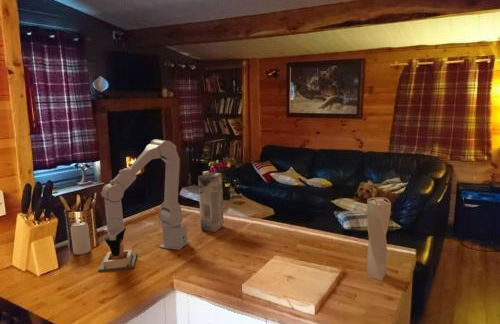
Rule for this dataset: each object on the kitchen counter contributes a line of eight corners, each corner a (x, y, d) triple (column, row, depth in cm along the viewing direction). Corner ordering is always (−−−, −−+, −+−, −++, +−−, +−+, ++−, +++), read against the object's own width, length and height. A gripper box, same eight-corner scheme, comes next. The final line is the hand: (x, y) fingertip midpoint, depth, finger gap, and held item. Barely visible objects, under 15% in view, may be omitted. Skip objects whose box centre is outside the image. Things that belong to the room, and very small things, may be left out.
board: (137, 254, 144) (136, 247, 144) (133, 268, 133) (132, 260, 132) (105, 257, 142) (104, 250, 142) (98, 271, 131) (97, 264, 130)
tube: (127, 258, 139) (125, 238, 137) (119, 263, 134) (117, 243, 133) (117, 257, 140) (115, 237, 139) (109, 262, 136) (107, 242, 134)
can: (84, 255, 144) (80, 226, 142) (69, 254, 146) (66, 225, 143) (94, 249, 150) (91, 221, 148) (80, 248, 152) (77, 220, 150)
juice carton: (225, 225, 174) (223, 169, 169) (216, 233, 164) (213, 174, 159) (208, 223, 177) (205, 168, 172) (198, 231, 167) (195, 173, 162)
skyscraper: (384, 283, 117) (388, 199, 112) (361, 278, 121) (364, 196, 116) (390, 273, 124) (393, 193, 119) (367, 268, 128) (370, 190, 123)
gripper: (106, 211, 140) (109, 244, 143) (98, 224, 126) (102, 261, 129) (125, 209, 142) (128, 243, 144) (120, 222, 128) (123, 258, 130)
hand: (117, 251), depth 137 cm, fingers open, 7 cm apart
